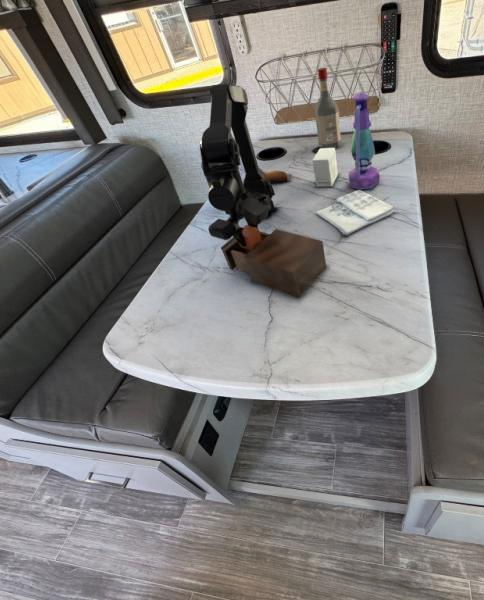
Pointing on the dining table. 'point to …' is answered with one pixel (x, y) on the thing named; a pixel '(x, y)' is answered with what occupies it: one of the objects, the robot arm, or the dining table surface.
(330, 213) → the open white book
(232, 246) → the drawer
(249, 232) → the block
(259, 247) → the cabinet
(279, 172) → the sunglasses case
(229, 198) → the robot arm
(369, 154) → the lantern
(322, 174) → the cosmetics box
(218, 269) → the dining table surface
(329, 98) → the liquor
